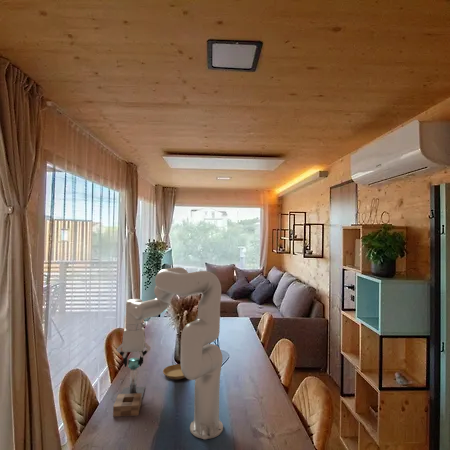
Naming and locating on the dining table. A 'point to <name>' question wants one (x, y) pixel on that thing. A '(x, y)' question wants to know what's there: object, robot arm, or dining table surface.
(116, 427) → the dining table surface
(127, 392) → the rubber pad
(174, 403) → the dining table surface
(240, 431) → the dining table surface
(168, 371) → the plant saucer
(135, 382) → the teal capped rod
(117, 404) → the eye block
